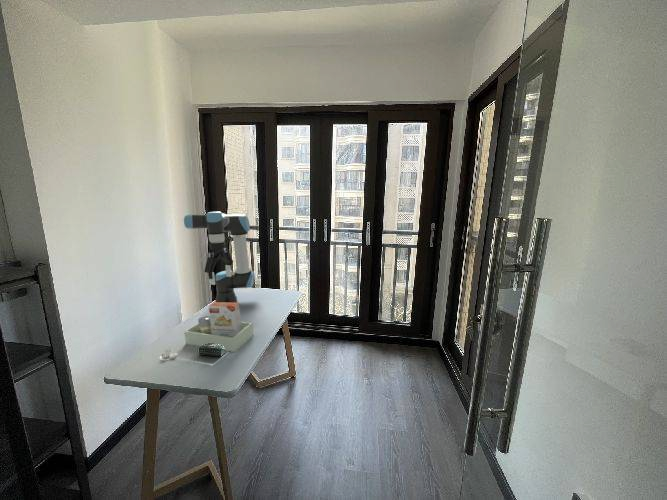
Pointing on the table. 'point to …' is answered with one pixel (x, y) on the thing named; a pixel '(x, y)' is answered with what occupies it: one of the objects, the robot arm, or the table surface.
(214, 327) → the cracker box
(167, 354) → the white curved piece
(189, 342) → the tote
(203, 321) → the can
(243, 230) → the robot arm
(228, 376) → the table surface
